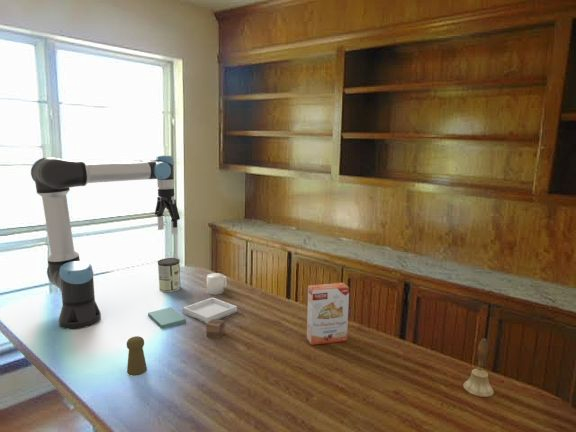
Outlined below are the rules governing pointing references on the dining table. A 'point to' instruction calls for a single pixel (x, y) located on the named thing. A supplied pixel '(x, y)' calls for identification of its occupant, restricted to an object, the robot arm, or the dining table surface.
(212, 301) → the tray
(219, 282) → the mug
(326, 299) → the cracker box
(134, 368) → the cork
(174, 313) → the teal notebook
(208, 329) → the walnut block
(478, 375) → the hand bell
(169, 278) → the coffee can
